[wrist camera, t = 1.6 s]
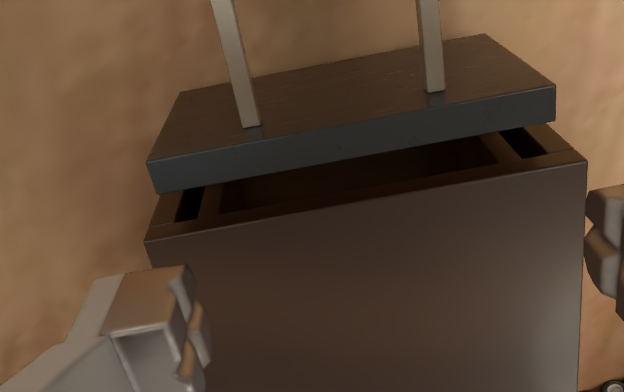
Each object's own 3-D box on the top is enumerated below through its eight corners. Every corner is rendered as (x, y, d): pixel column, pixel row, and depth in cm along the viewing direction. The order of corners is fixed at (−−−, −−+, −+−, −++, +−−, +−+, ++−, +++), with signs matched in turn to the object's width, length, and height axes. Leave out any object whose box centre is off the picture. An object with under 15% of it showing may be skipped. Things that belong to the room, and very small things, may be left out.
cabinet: (183, 134, 26) (141, 241, 18) (494, 75, 25) (589, 160, 17) (258, 376, 33) (251, 528, 25) (503, 334, 32) (574, 476, 24)
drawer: (133, -60, 21) (74, -38, 15) (478, -131, 21) (561, -138, 15) (254, 340, 30) (247, 454, 24) (496, 298, 30) (551, 404, 24)
